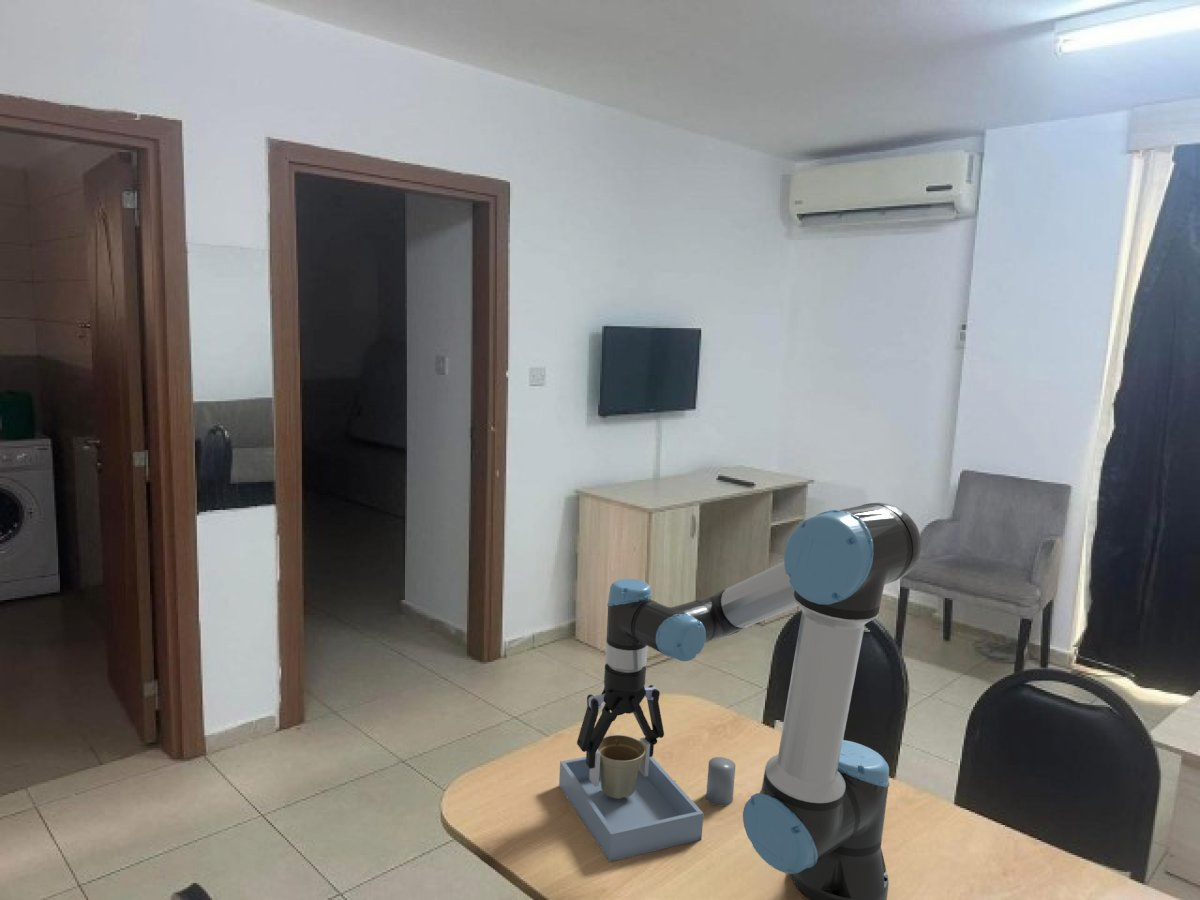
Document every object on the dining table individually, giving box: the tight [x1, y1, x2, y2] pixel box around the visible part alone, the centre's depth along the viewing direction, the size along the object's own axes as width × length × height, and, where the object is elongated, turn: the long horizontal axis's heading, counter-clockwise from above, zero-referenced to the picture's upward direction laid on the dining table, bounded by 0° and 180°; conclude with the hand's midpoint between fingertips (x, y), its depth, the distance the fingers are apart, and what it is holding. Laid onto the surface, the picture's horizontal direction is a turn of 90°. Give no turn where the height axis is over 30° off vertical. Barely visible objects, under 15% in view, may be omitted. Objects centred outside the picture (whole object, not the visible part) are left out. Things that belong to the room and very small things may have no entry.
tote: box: [558, 756, 704, 862], centre depth 150 cm, size 24×18×5 cm
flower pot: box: [598, 734, 646, 799], centre depth 154 cm, size 9×9×9 cm
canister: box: [705, 756, 736, 807], centre depth 156 cm, size 5×5×7 cm
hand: (618, 777), depth 154 cm, fingers closed on flower pot, 9 cm apart
